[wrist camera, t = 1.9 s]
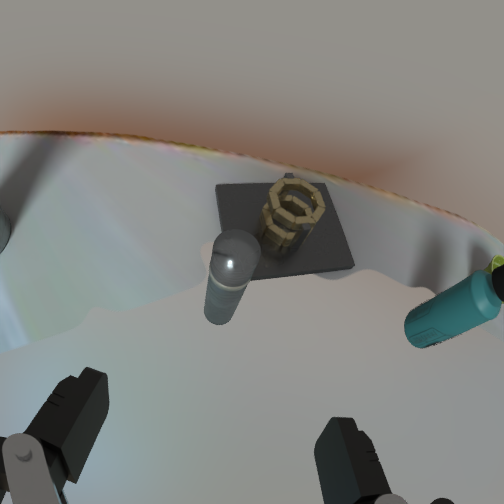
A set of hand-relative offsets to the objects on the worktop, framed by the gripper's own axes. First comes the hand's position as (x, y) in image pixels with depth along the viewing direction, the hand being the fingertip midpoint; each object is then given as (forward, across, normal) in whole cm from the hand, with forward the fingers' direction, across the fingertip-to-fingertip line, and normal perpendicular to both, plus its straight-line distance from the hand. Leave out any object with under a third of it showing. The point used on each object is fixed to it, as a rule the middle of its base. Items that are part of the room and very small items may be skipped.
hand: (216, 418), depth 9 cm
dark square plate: (+36, -6, -1) cm, 36 cm away
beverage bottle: (+28, -29, +8) cm, 41 cm away
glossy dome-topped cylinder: (+26, 0, +9) cm, 28 cm away
